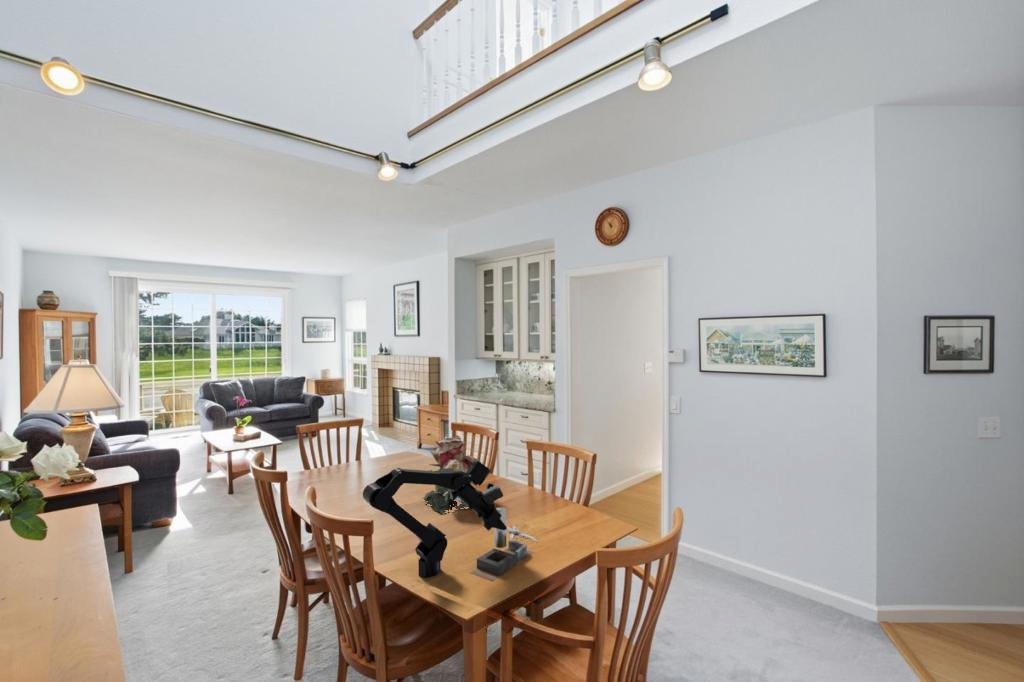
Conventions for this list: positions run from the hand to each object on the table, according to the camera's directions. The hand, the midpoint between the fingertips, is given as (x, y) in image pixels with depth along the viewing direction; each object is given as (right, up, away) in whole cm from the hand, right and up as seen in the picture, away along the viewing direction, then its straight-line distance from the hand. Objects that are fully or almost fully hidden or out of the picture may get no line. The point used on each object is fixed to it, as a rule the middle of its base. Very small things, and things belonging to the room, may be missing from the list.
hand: (504, 526), depth 158 cm
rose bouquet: (-23, -11, +56) cm, 62 cm away
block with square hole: (0, -11, -4) cm, 12 cm away
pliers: (+5, -12, +19) cm, 22 cm away
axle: (-1, -6, 0) cm, 6 cm away
